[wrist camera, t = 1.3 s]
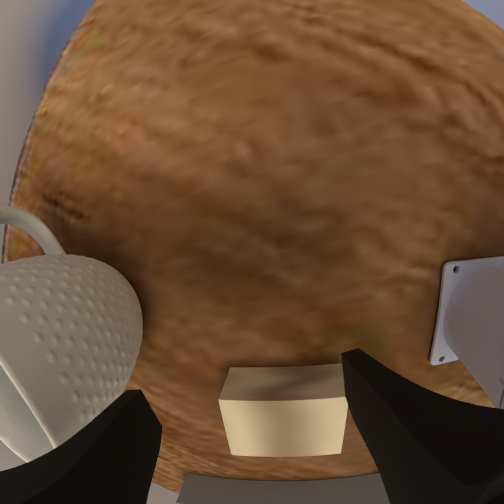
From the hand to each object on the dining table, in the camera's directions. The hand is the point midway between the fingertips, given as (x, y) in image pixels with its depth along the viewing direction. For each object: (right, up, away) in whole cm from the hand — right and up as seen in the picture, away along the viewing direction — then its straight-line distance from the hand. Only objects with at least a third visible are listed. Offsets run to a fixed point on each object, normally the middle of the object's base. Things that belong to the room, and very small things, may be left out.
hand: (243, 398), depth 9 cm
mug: (-11, +2, +11) cm, 16 cm away
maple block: (+3, -6, +11) cm, 13 cm away
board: (+4, -20, +14) cm, 24 cm away
